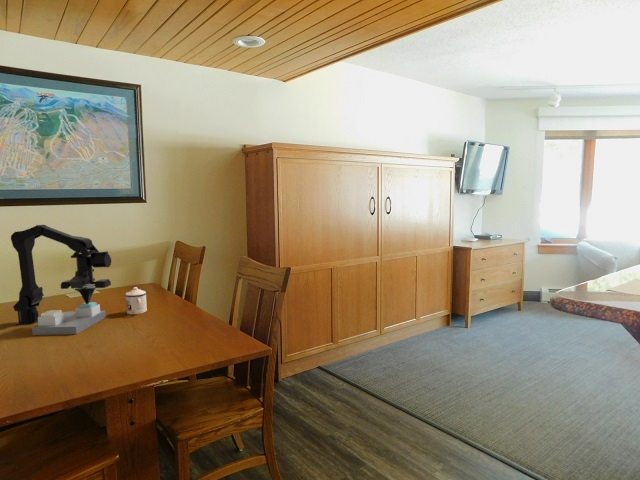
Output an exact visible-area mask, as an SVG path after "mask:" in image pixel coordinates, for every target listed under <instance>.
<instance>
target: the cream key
mask: <svg viewBox="0 0 640 480" xmlns="http://www.w3.org/2000/svg"><path fill="white" fill-rule="evenodd" d="M62 312H63V311H62V310H61V309H59V310H58V309H55V310H53V309H52V310H50V309H49V310H47V311H45V312H42V313H41V314H40V316H41V317H54V316H57V315H59V314H61V313H62Z"/></svg>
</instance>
